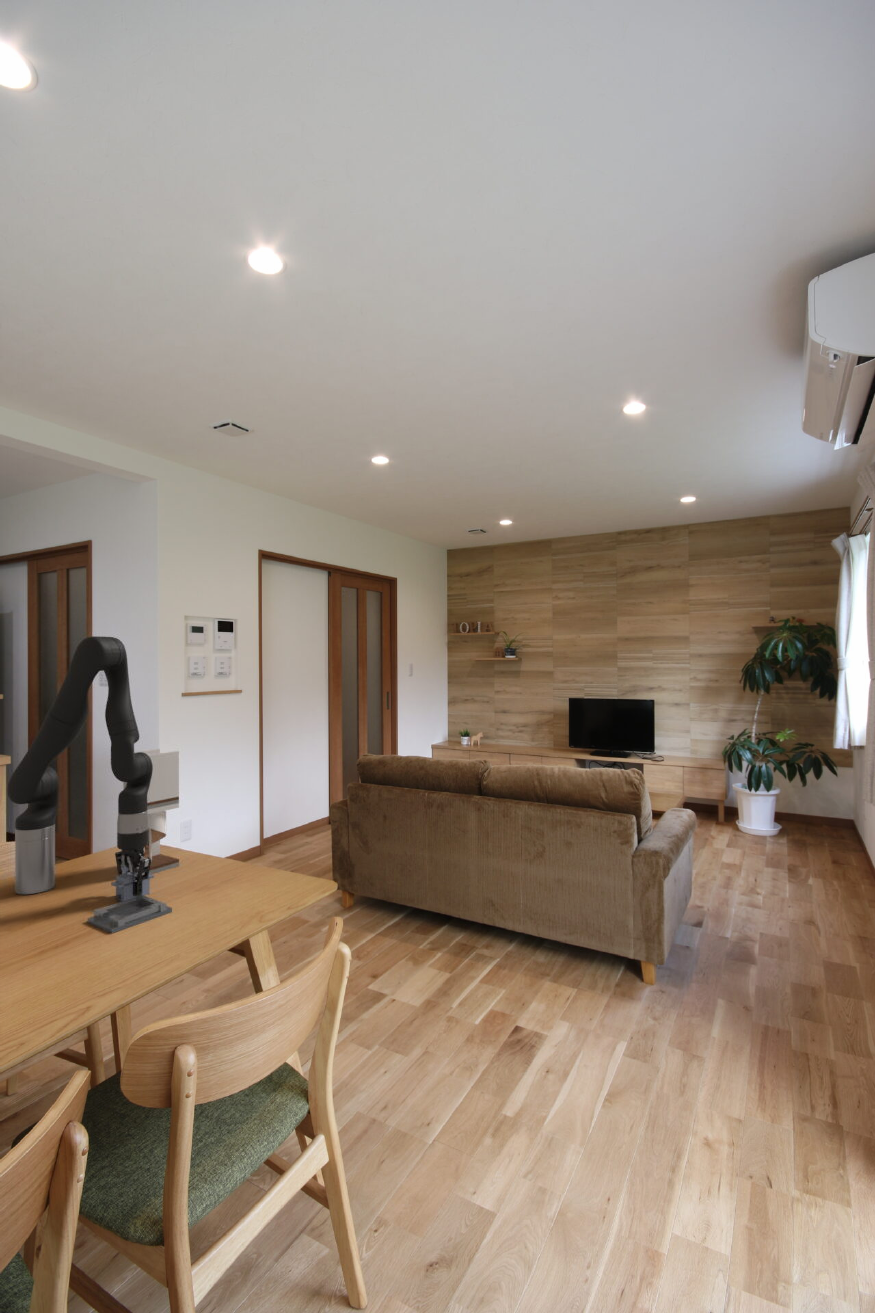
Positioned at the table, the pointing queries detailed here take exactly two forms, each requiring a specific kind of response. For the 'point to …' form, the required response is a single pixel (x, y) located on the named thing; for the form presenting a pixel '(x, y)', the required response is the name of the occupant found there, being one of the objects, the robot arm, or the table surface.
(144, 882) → the servo
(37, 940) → the table surface
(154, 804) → the white alcove tower
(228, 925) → the table surface
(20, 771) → the robot arm
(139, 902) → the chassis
